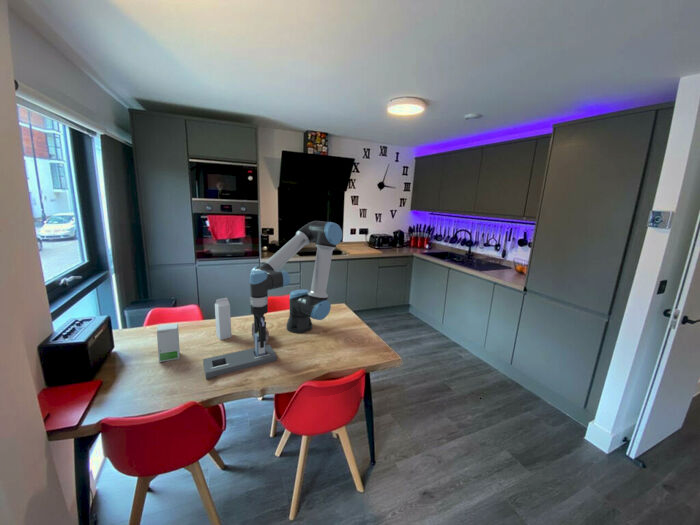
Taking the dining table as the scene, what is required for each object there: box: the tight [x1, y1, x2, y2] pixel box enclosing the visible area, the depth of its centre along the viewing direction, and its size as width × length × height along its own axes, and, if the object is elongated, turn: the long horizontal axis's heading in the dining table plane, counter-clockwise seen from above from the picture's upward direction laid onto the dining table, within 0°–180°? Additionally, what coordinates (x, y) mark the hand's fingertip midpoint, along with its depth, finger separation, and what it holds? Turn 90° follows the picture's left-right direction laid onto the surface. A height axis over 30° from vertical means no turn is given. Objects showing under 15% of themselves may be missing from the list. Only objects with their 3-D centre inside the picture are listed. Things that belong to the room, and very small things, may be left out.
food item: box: [251, 322, 270, 345], centre depth 153 cm, size 14×8×10 cm, turn 31°
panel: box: [202, 344, 278, 380], centre depth 132 cm, size 30×12×3 cm, turn 121°
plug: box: [254, 332, 267, 357], centre depth 135 cm, size 4×4×13 cm
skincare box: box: [156, 322, 181, 363], centre depth 133 cm, size 8×7×16 cm
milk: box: [214, 297, 232, 341], centre depth 154 cm, size 6×6×22 cm
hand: (260, 350), depth 136 cm, fingers closed on plug, 4 cm apart
